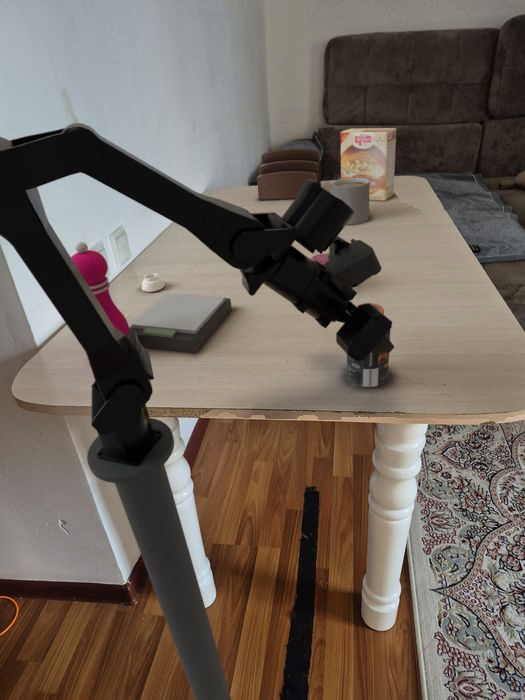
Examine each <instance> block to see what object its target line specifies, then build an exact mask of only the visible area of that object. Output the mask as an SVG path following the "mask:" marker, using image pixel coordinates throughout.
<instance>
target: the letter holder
mask: <svg viewBox="0 0 525 700" xmlns="http://www.w3.org/2000/svg"><path fill="white" fill-rule="evenodd" d="M320 153H321V152H320V151H319V150H318V149H315V148H303V147H302V148H301V147H300V148H299V147H298V148H284V149H276V150H271V151H265V152H263V153H262V154H261V155H260V156H261V157H260V158H261V164H260V166H259V167H258V171H259V175H258V176H257V177H256V183H257V194H258V195H257V197H258V200H259V201H271V200H274V201H275V200H295V199H296V197H297V196H298V194H299V192H300V190H301V188H302V186H303V185H304V184H305V182H306V181H307V180H308V179H311V180H313V181H315V182H317V183H318V184H319V185H320V186H321V187H322V174H321V154H320Z"/></svg>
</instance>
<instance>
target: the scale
mask: <svg viewBox="0 0 525 700" xmlns="http://www.w3.org/2000/svg"><path fill="white" fill-rule="evenodd" d="M232 310H233V307H232V300H231V298H227V297H226V296H219V295H218V296H217V295H201V294H188V293H187V294H186V293H175V292H174V293H172V292H166V293H164V294H163V295H162V296H161V297H160V298H159V299H157V300H156V301H155V302H154V303H153V304H152V305H151V306H149V308H147V309H146V310H145V311H144V312H143V313H141V314H140V315H139V316H138V317H137V318H136V319H135V320H134V321H132V323H130V326H129V332H131V331H132V330H135V331H136V334H137V337H138V339H139V342H140V344H141V345H142V346H143V348H145V349H147V348H148V349H154V350H155V349H157V350H164V351H173V352H183V353H191V354H196V353H197V352H198V351H199V350H200V349H201V347H202V346H204V344H205V343H206V342H207V341H208V339H209V338H210V337H211V336H212V334H213V333H214V332H215V331H216V330H217V328H218V327H219V326H220V325H221V324H222V322H223V321H224V320H225V319H226V318H227V316H228V315H229V314H230V313H231V312H232Z"/></svg>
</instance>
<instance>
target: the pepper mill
mask: <svg viewBox="0 0 525 700" xmlns="http://www.w3.org/2000/svg"><path fill="white" fill-rule="evenodd" d="M75 250H76V253H74V254H73V255H71V256H70V257H71V258H72V260H73V262H74V263H75V265H76V266H77V268H78V270H79V271H80V273H81V274H82V276H83V278H84V279H85V281H86V282H87V284H88V286H89V287H90V289H91V291H92V292H93V294H94V295H95V297H96V299H97V300H98V302H99V303H100V305H101V307H102V308H103V310H104V311H105V313H106V315H107V316H108V318H109V319H110V321H111V323H112V324H113V326H114V327H115V328H116V329H118V330H119V331H120V332H122V333H123V334H124V335H126V334H128V333H129V328H130V325H129V323H128V320H127V318H126V316H125V315H124V313H122V312H121V311H120V309H119V308H118V307H117V306H116V304H115V303H114V301H113V299H112V296H111V294H110V290H109V289H110V287H111V284H110V282H109V277H107V276H106V275H107V274H108V271H109V266H108V262H107V260H106V258H105V257H104V255H102V253H100V252H99V251H96V250H92V249H91V250H90V249H89V247H88V245H87V243H86V242H83V241H79V242H77V243H76V244H75Z"/></svg>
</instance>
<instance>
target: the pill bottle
mask: <svg viewBox="0 0 525 700" xmlns="http://www.w3.org/2000/svg"><path fill="white" fill-rule="evenodd" d="M367 303H369V304H371V305H372V306H373V307H375V308H376V309H377V310H378V311H380V312H381V313H382V314H383V315H385V308H384V307H383V306H382V305H381V304H378V303H374V302H363V303H360V304H357V305H355V306H356V307H358V306H359V305H363V304H367ZM386 336H387V337H388V339H389V340H390V341H391V329H390V330H389V331H388V332H387V333H386ZM389 363H390V353H369V355H368V356H367V357H366V358H365V359H364V360H363V361H360V362H358V361H356V360H354V359H353V358H351V357H350V356H348V355H347V354H346V377H347V379H348V380H349V382H351V383H352V384H353V385H355V386H359V387H364V388H375V387H378V386H380V385H383V384H384V383H385V382H386V381H387V380H388V378H389V366H390V365H389Z"/></svg>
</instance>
